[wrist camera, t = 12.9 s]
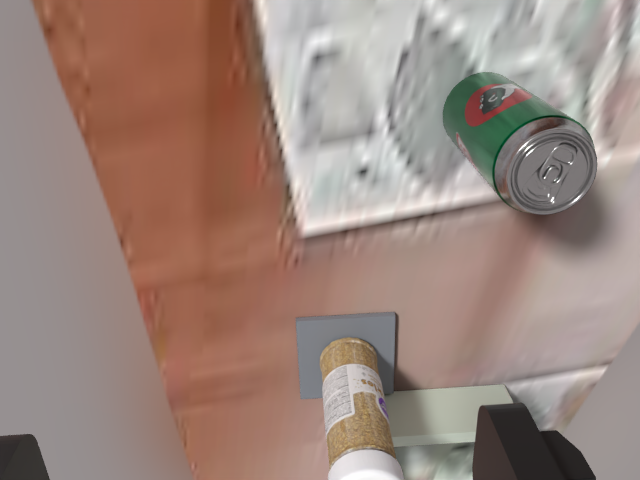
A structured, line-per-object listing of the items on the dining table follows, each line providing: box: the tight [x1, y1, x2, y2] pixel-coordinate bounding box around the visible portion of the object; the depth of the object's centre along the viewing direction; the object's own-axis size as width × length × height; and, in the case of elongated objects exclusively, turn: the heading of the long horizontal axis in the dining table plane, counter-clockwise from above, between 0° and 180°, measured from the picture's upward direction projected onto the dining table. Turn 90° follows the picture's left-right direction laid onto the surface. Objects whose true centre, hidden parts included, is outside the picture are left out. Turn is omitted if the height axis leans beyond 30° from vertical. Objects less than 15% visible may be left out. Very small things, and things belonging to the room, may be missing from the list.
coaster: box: [296, 312, 395, 399], centre depth 47 cm, size 8×8×1 cm
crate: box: [384, 384, 513, 447], centre depth 50 cm, size 12×12×5 cm
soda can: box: [443, 72, 597, 215], centre depth 34 cm, size 5×5×12 cm
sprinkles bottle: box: [320, 337, 404, 480], centre depth 41 cm, size 5×5×14 cm
